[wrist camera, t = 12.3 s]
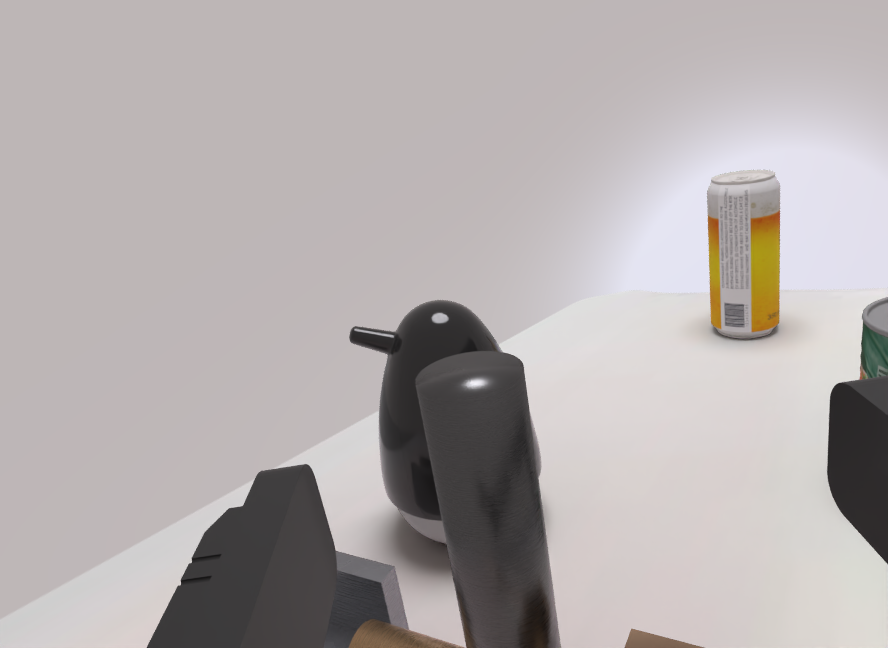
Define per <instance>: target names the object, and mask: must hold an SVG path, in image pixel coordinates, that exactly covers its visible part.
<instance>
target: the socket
mask: <svg viewBox="0 0 888 648" xmlns="http://www.w3.org/2000/svg"><path fill="white" fill-rule="evenodd" d="M625 648H703V647H700V646H696V645H692V644H688V643H684V642H681V641H677V640H673V639H669V638H665V637H662V636H658V635H654V634H650V633H646V632H642V631H639V630H635V629H631V631H630V634H629V637H628V640H627V642H626V645H625Z"/></svg>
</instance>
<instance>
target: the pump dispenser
mask: <svg viewBox="0 0 888 648" xmlns="http://www.w3.org/2000/svg"><path fill="white" fill-rule="evenodd" d="M349 338H350V342H351V343H353V344H356V345H359V346H362V347H366V348H369V349H372V350H376V351H379V352H382V353H385V354H387V355H388V358H387V363H386V367H385V371H384V377H383V382H382V390H381V397H380V409H379V446H380V460H381V470H382V477H383V482H384V486H385V490H386V493H387V496H388V497H389V499H390V500H391V502H392V503H393V504H394V505H395V506H396V507H397V508H398V510H399V511H400V513H401V514H402V516H403V517H404V518H405V520H406V521H407V522H408V523H409V524H410V525H411V526H412V527H413V528H414V529H415V530H417V531H418V532H419V533H421V534H422V535H424V536H426V537H428V538H430V539H432V540H435V541H437V542H441V543H445V544H446V539H445V533H444V528H443V523H442V518H441V513H440V508H439V503H438V497H437V492H436V487H435V482H434V477H433V472H432V466H431V461H430V456H429V451H428V446H427V441H426V435H425V430H424V425H423V420H422V415H421V410H420V405H419V399H418V394H417V389H416V384H415V380H416V377H417V375H418V374H419V373H420V372H421V371H422V370H423V369H424V368H425V367H427V366H428V365H430V364H432V363H434V362H436V361H438V360H440V359H443V358H446V357H449V356H453V355H457V354H461V353H467V352H475V351H496V352H502V350H501V348H500V347H499V345H498V344H497V342H496V340H495V339H494V337H493V336H492V335H491V333H490V332H489V330H488V329H487V328H486V326H485V325H484V324H483V323H482V321H481V320H480V319H479V318H478V317H477V316H476V315H475V314H474V313H473V312H472V311H471V310H469V309H468V308H467V307H464V306H463V305H461V304H458V303H456V302H452V301H446V300H435V301H430V302H426V303H423V304H421V305H419V306H417V307H416V308H414V309H413V310H411V311H410V312H409V313H408V314H407V315H406V316H405V317H404V319H403V320H402V322H401V323H400V325H399V327H398V329H397V330H396V332H391V331H384V330H377V329H371V328H364V327H357V326H355V327H353V328H352V329H351V332H350V337H349ZM529 412H530V411H529ZM530 419H531V427H532V434H533V442H534V449H535V457H536V464H537V472H538V478H539V475H540V472H541V455H540V449H539V444H538V439H537V436H536V432H535V428H534V425H533V421H532V418H531V414H530Z"/></svg>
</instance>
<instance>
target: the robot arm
mask: <svg viewBox="0 0 888 648" xmlns="http://www.w3.org/2000/svg"><path fill="white" fill-rule="evenodd" d="M827 475H828V482H829V486H830V490H831V493H832V496H833V498H834V500H835V502H836V504H837V506H838V508H839V509H840V511H841V512H842V514H843V515H844V516H845V517H846V518H847V519H848V521H849V522H850V523H851V524H852V525H853V526H854V527H855V528H856V529H857V531H858V532H859V533H860V534H861V535H862V536H863V537H864V538H865V539H866V541H867V542H868V543H869V544H870V545H871V546H872V547H873V548H874V549H875V551H876V552H877V553H878V554H879V555H880V556H881V557H882V558H883V559H884V561H885V562H886V563H887V564H888V375H887V376H881V377H874V378H868V379H862V380H855V381H849V382H842V383H838V384H836V385H835V386H834V388H833V389H832V392H831V396H830V413H829V439H828V466H827ZM336 583H337V559H336V551H335V546H334V542H333V538H332V535H331V531H330V528H329V524H328V521H327V517H326V514H325V510H324V507H323V503H322V500H321V496H320V493H319V489H318V486H317V483H316V479H315V476H314V473H313V471H312V469H311V467H310V466H309V465H307V464H304V465H297V466H291V467H284V468H278V469H271V470H265V471H261V472H259V473H258V474H257V476H256V478H255V480H254V483H253V485H252V487H251V489H250V492H249V494H248V496H247V498H246V501H245V503H244V505H243V506H242V507H235V508H229V509H228V510H227V511H226V512H225V513H224V514H223V515H222V516H221V517H220V518H219V519H218V520H217V521H216V522H215V523H214V524H213V525H212V526H211V527H210V528H209V529H208V530H207V531H206V532H205V533H204V535H203V537H202V539H201V541H200V543H199V545H198V547H197V549H196V551H195V553H194V555H193V557H192V563H190V564H189V565H188V567H187V569H186V571H185V573H184V575H183V577H182V579H181V585H180V586H178V587H177V589H176V591H175V593H174V594H173V596H172V598H171V600H170V602H169V604H168V606H167V608H166V610H165V612H164V614H163V616H162V618H161V620H160V622H159V624H158V626H157V628H156V630H155V632H154V634H153V636H152V638H151V640H150V642H149V644H148V646H147V648H324V644H325V639H326V634H327V629H328V624H329V619H330V614H331V609H332V604H333V599H334V594H335V589H336Z"/></svg>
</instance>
